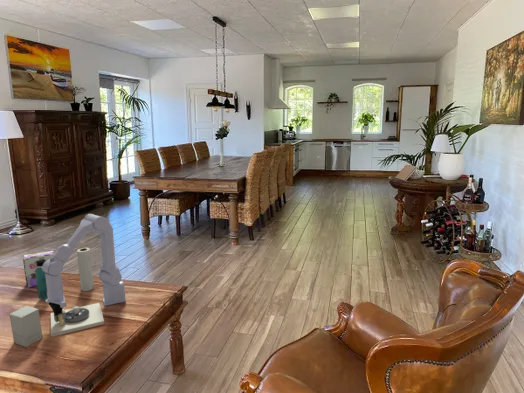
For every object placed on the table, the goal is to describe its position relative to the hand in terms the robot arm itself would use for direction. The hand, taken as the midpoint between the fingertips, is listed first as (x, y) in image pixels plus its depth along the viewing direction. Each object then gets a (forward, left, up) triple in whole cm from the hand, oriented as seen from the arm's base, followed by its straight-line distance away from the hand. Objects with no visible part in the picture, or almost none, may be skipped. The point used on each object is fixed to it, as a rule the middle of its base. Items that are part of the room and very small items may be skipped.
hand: (58, 317), depth 161 cm
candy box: (+7, -49, -4) cm, 50 cm away
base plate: (-7, 0, -3) cm, 8 cm away
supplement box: (+11, +7, -4) cm, 14 cm away
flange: (-5, +1, -2) cm, 5 cm away
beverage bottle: (+5, -28, -4) cm, 29 cm away
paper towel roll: (-14, -31, -4) cm, 34 cm away
